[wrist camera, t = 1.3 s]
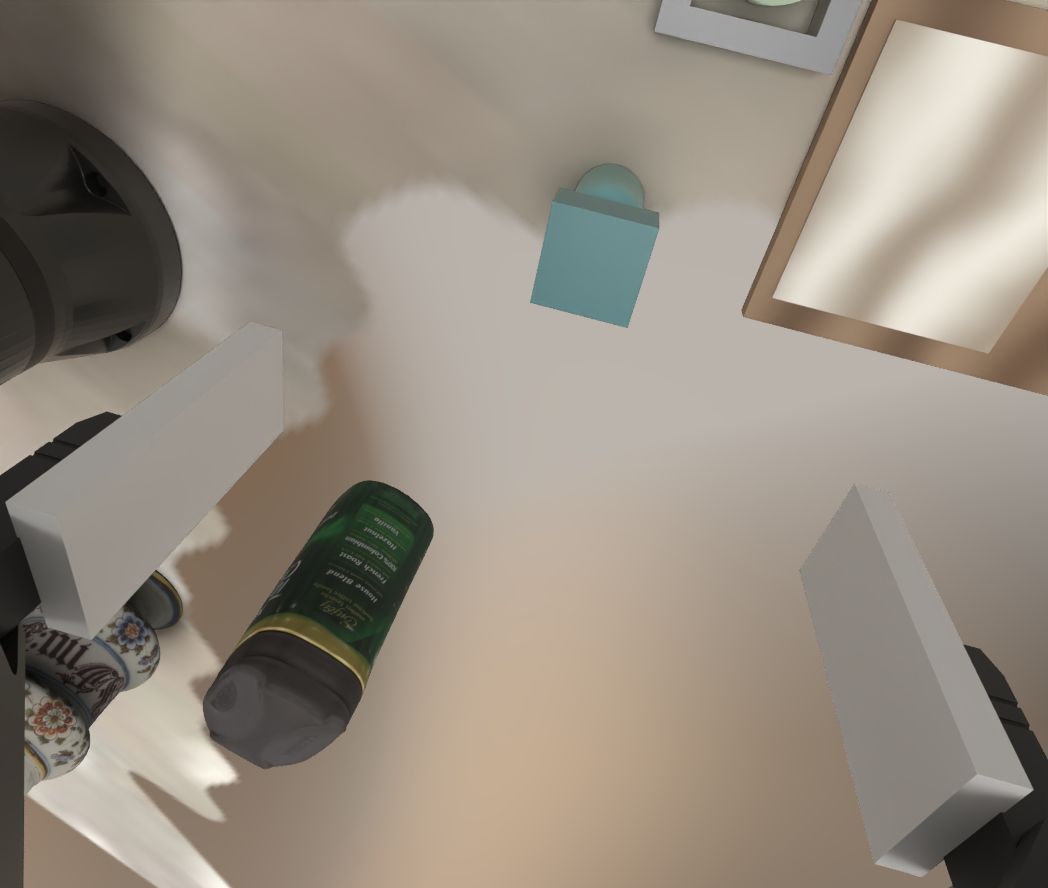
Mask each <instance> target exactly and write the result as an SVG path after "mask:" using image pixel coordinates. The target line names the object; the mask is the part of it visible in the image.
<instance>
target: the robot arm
mask: <svg viewBox="0 0 1048 888" xmlns="http://www.w3.org/2000/svg"><path fill="white" fill-rule="evenodd" d="M180 282H181V264H180V256H179V250H178V246H177V242H176V238H175V235H174V232H173V229H172V226H171V223H170V221H169V219H168V216H167V214H166V212H165V210H164V208H163V206H162V204H161V202H160V200H159V199H158V197H157V195H156V194H155V192H154V190H153V189H152V187H151V186H150V184H149V183H148V181H147V180H146V179H145V177H144V176H143V175H142V173H141V172H140V171H139V170H138V168H137V167H136V166H135V165H134V164H133V162H132V161H131V160H130V159H129V158H128V157H127V156H126V155H125V154H124V153H123V152H122V151H121V150H120V149H119V148H118V147H117V146H116V145H115V144H114V143H112V142H111V141H110V140H109V139H108V138H107V137H105V136H104V135H103V134H101V133H100V132H99V131H97V130H96V129H95V128H93V127H92V126H90V125H89V124H87V123H86V122H84V121H82V120H81V119H79V118H77V117H75V116H73V115H71V114H69V113H67V112H65V111H63V110H60V109H58V108H55V107H52V106H49V105H46V104H43V103H38V102H33V101H26V100H8V101H0V385H1V384H3V383H5V382H6V381H8V380H10V379H11V378H13V377H15V376H16V375H18V374H20V373H22V372H24V371H26V370H27V369H29V368H31V367H33V366H34V365H36V364H38V363H44V362H50V361H57V360H63V359H69V358H76V357H82V356H88V355H95V354H101V353H108V352H112V351H116V350H119V349H122V348H125V347H127V346H129V345H132V344H133V343H135V342H137V341H138V340H140V339H142V338H143V337H145V336H146V335H148V334H150V333H151V332H153V331H154V330H156V329H157V328H158V327H160V326H161V325H162V324H163V323H164V322H165V321H166V319H167V318H168V317H169V315H170V314H171V312H172V310H173V308H174V306H175V304H176V301H177V298H178V294H179V290H180ZM283 430H284V405H283V333H282V330H279V329H276V328H272V327H268V326H264V325H261V324H257V323H253V322H249V323H248V324H246V325H245V326H244V327H242V328H241V329H239V330H238V331H237V332H235V333H234V334H233V335H231V336H230V337H229V338H227V339H226V340H225V341H223V342H222V343H220V344H219V345H218V346H216V347H215V348H214V349H212V350H211V351H210V352H208V353H207V354H206V355H204V356H203V357H201V358H200V359H199V360H197V361H196V362H195V363H193V364H192V365H191V366H189V367H188V368H187V369H185V370H184V371H182V372H181V373H180V374H178V375H177V376H176V377H174V378H173V379H172V380H170V381H169V382H168V383H166V384H165V385H163V386H162V387H161V388H159V389H158V390H157V391H155V392H154V393H153V394H151V395H150V396H149V397H147V398H146V399H144V400H143V401H142V402H140V403H139V404H138V405H136V406H135V407H134V408H132V409H131V410H130V411H128V412H127V413H125V414H124V415H123V416H121V415H117V414H113V413H110V412H105V413H102V414H99V415H96V416H94V417H91V418H88V419H85V420H83V421H80V422H77V423H75V424H74V425H73V426H71V427H70V428H68V429H67V430H65V431H64V432H62V433H61V434H60V435H58V436H57V437H55V438H54V439H53V442H52V443H51V442H48V443H46V444H45V445H44V446H42V447H41V448H39V449H38V450H36V451H35V453H34V455H33V456H31V455H29V456H28V457H26V458H25V459H23V460H22V461H20V462H19V463H18V464H16V465H15V466H13V467H12V468H10V469H9V470H7V471H6V472H4V473H3V474H2V475H0V888H23V868H24V866H23V865H24V861H23V859H24V753H25V635H26V634H25V631H24V628H23V625H22V622H21V621H22V620H23V619H24V618H25V617H26V616H28V615H29V614H30V613H31V612H32V611H33V610H34V609H35V608H36V607H37V606H38V605H39V604H40V606H41V609H42V612H43V615H44V618H45V621H46V624H47V627H48V628H51V629H55V630H58V631H62V632H65V633H69V634H72V635H76V636H79V637H83V638H86V639H90V640H92V639H93V638H94V637H95V636H96V635H97V633H98V632H99V631H100V630H101V629H102V628H103V627H104V626H105V625H106V624H107V622H108V621H109V620H110V619H111V618H112V617H113V616H114V615H115V614H116V613H117V612H118V610H119V609H120V608H121V607H122V606H123V605H124V604H125V603H126V602H127V601H128V600H129V598H130V597H131V596H132V595H133V594H134V593H135V592H136V591H137V590H138V589H139V588H140V586H141V585H142V584H143V583H144V582H145V581H146V580H147V579H148V578H149V577H150V576H151V574H152V573H153V572H154V571H155V570H156V569H157V568H158V567H159V566H160V565H161V564H162V562H163V561H164V560H165V559H166V558H167V557H168V556H169V555H170V554H171V553H172V552H173V550H174V549H175V548H176V547H177V546H178V545H179V544H180V543H181V542H182V541H183V540H184V538H185V537H186V536H187V535H188V534H189V533H190V532H191V531H192V530H193V529H194V528H195V526H196V525H197V524H198V523H199V522H200V521H201V520H202V519H203V518H204V517H205V516H206V514H207V513H208V512H209V511H210V510H211V509H212V508H213V507H214V506H215V505H216V504H217V502H218V501H219V500H220V499H221V498H222V497H223V496H224V495H225V494H226V493H227V491H228V490H229V489H230V488H231V487H232V486H233V485H234V484H235V483H236V482H237V481H238V480H239V478H240V477H241V476H242V475H243V474H244V473H245V472H246V471H247V470H248V469H249V467H250V466H251V465H252V464H253V463H254V462H255V461H256V460H257V459H258V458H259V457H260V455H261V454H262V453H263V452H264V451H265V450H266V449H267V448H268V447H269V446H270V445H271V443H272V442H273V441H274V440H275V439H276V438H277V437H278V436H279V435H280V434H281V433H282V431H283ZM800 574H801V578H802V582H803V586H804V590H805V594H806V598H807V602H808V606H809V609H810V613H811V618H812V621H813V625H814V629H815V633H816V637H817V641H818V645H819V649H820V652H821V657H822V661H823V665H824V669H825V672H826V676H827V680H828V684H829V688H830V692H831V696H832V700H833V704H834V708H835V712H836V716H837V719H838V724H839V728H840V731H841V735H842V739H843V743H844V747H845V751H846V755H847V759H848V763H849V767H850V771H851V775H852V779H853V782H854V786H855V790H856V794H857V798H858V802H859V806H860V809H861V814H862V818H863V822H864V826H865V830H866V834H867V837H868V841H869V845H870V849H871V853H872V857H873V861H874V864H878V865H881V866H885V867H888V868H892V869H895V870H899V871H902V872H906V873H909V874H913V875H916V876H920V877H923V876H924V875H925V874H926V873H928V872H929V871H930V870H932V869H933V868H934V867H935V866H937V865H938V864H939V863H940V862H942V861H943V860H945V863H946V866H947V869H948V872H949V875H950V878H951V881H952V884H953V885H952V886H951V887H950V888H1048V759H1047V757H1046V755H1045V753H1044V752H1043V750H1042V748H1041V746H1040V744H1039V742H1038V740H1037V738H1036V736H1035V734H1034V733H1033V731H1031V730H1029V723H1028V721H1027V719H1026V717H1025V715H1024V713H1023V712H1022V710H1021V708H1018V707H1017V704H1018V702H1017V700H1016V698H1015V696H1014V694H1013V693H1012V691H1011V689H1010V687H1009V685H1008V683H1007V681H1006V679H1005V677H1004V676H1003V675H1002V673H1001V672H1000V671H999V670H998V669H997V668H996V667H995V665H994V664H993V663H992V662H991V661H990V660H989V659H988V657H987V656H986V655H985V654H984V653H983V652H982V651H981V650H980V649H978V648H975V647H971V646H967V645H963V644H962V642H961V639H960V638H959V635H958V633H957V631H956V629H955V627H954V625H953V623H952V621H951V619H950V617H949V615H948V613H947V611H946V609H945V607H944V604H943V602H942V600H941V598H940V596H939V594H938V592H937V590H936V588H935V586H934V584H933V582H932V580H931V578H930V576H929V574H928V571H927V569H926V567H925V565H924V563H923V561H922V559H921V557H920V555H919V553H918V551H917V549H916V547H915V545H914V543H913V541H912V539H911V537H910V535H909V532H908V530H907V528H906V526H905V524H904V522H903V520H902V518H901V516H900V514H899V512H898V510H897V508H896V506H895V504H894V502H893V500H892V498H891V495H890V494H889V492H886V491H882V490H878V489H874V488H870V487H867V486H863V485H859V484H856V483H855V484H854V485H853V487H852V488H851V490H850V491H849V493H848V495H847V496H846V498H845V499H844V501H843V502H842V504H841V506H840V507H839V509H838V510H837V512H836V513H835V515H834V517H833V518H832V520H831V522H830V523H829V525H828V526H827V528H826V529H825V531H824V532H823V534H822V536H821V537H820V539H819V540H818V542H817V543H816V545H815V547H814V548H813V550H812V551H811V553H810V555H809V556H808V558H807V560H806V561H805V563H804V564H803V566H802V568H801V569H800Z"/></svg>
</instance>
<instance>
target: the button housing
mask: <svg viewBox="0 0 1048 888" xmlns="http://www.w3.org/2000/svg"><path fill="white" fill-rule="evenodd" d="M691 1H692V0H662V4H661V8H660V12H659V15H658V19H657V23H656V27H655V30H654V32H659V33H663V34H667V35H671V36H675V37H679V38H683V39H687V40H691V41H695V42H699V43H703V44H707V45H711V46H715V47H719V48H723V49H727V50H731V51H735V52H739V53H743V54H747V55H751V56H755V57H760V58H764V59H768V60H772V61H776V62H780V63H784V64H788V65H792V66H796V67H800V68H804V69H808V70H812V71H816V72H820V73H824V74H828V75H831V74H832V72H833V69H834V67H835V65H836V62H837V60H838V57H839V55H840V52H841V50H842V48H843V45H844V43H845V40H846V38H847V36H848V33H849V31H850V28H851V26H852V24H853V21H854V19H855V16H856V14H857V11H858V9H859V7H860V4H861V2H862V0H819V2H818V5H817V8H816V10H815V13H814V15H813V18H812V21H811V23H810V26H809V28H808V31H807V34H802V33H798V32H794V31H790V30H786V29H782V28H778V27H774V26H770V25H766V24H761V23H757V22H753V21H749V20H745V19H741V18H737V17H733V16H729V15H725V14H721V13H717V12H713V11H709V10H705V9H700V8H696V7H692V6H690V4H691Z"/></svg>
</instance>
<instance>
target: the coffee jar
mask: <svg viewBox="0 0 1048 888" xmlns="http://www.w3.org/2000/svg"><path fill="white" fill-rule="evenodd" d="M432 538H433V524H432V521H431V519H430V517H429V516H428V514H427V513H426V512H425V511H424V510H423V509H422V508H421V507H420V506H419V504H417V503H416V502H415V501H414V500H413V499H411V498H410V497H409V496H408V495H406V494H404V493H403V492H401V491H400V490H398V489H396V488H394V487H391V486H389V485H387V484H385V483H381V482H376V481H363V482H360V483H357V484H355V485H354V486H352V487H351V488H350V489H348V490H347V491H346V492H345V493H344V494H343V495H342V496H341V497H340V498H338V500H337V501H336V502H335V503H334V504H333V506H332V507H331V508H330V509H329V511H328V512H327V514H326V515H325V517H324V518H323V519H322V521H321V522H320V524H319V525H318V527H317V528H316V530H315V531H314V533H313V534H312V536H311V537H310V539H309V540H308V542H307V543H306V544H305V546H304V547H303V549H302V550H301V551H300V553H299V555H298V556H297V557H296V559H295V560H294V561H293V563H292V564H291V566H290V567H289V568H288V570H287V571H286V573H285V574H284V576H283V577H282V578H281V580H280V581H279V583H278V584H277V586H276V587H275V589H274V590H273V592H272V593H271V594H270V596H269V597H268V599H267V600H266V602H265V603H264V605H263V606H262V608H261V610H260V611H259V612H258V614H257V615H256V617H255V618H254V620H253V621H252V623H251V625H250V626H249V628H248V629H247V630H246V632H245V633H244V635H243V637H242V638H241V640H240V641H239V643H238V644H237V646H236V647H235V649H234V650H233V652H232V653H231V655H230V656H229V658H228V660H227V661H226V663H225V665H224V666H223V668H222V669H221V671H220V672H219V674H218V676H217V678H216V679H215V681H214V683H213V684H212V686H211V687H210V688H209V690H208V691H207V694H206V695H205V697H204V701H203V712H204V717H205V721H206V723H207V726H208V728H209V731H210V737H211V739H212V740H214V741H215V742H217V743H218V744H220V745H222V746H223V747H225V748H227V749H228V750H230V751H232V752H233V753H235V754H237V755H239V756H240V757H242V758H244V759H246V760H247V761H249V762H251V763H253V764H255V765H257V766H259V767H261V768H263V769H268V768H271V767H274V766H275V767H276V766H284V765H285V766H286V765H292V764H296V763H299V762H303V761H305V760H307V759H309V758H311V757H312V756H314V755H315V754H317V753H318V752H320V751H321V750H323V749H324V748H326V747H327V746H328V745H329V744H331V743H332V742H333V741H334V740H335V739H336V738H337V737H339V735H340V734H342V733H343V732H345V730H346V727H347V724H348V723H349V721H350V719H351V717H352V715H353V713H354V711H355V709H356V707H357V705H358V703H359V701H360V699H361V697H362V695H363V692H364V690H365V687H366V684H367V681H368V678H369V676H370V673H371V670H372V668H373V665H374V663H375V660H376V658H377V656H378V654H379V651H380V649H381V647H382V645H383V643H384V640H385V638H386V636H387V634H388V631H389V629H390V627H391V624H392V623H393V621H394V619H395V617H396V614H397V612H398V610H399V608H400V606H401V604H402V601H403V599H404V597H405V595H406V593H407V591H408V589H409V586H410V584H411V582H412V580H413V578H414V576H415V574H416V572H417V570H418V568H419V566H420V564H421V562H422V560H423V558H424V556H425V553H426V551H427V549H428V547H429V545H430V542H431V540H432Z"/></svg>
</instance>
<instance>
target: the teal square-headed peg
mask: <svg viewBox="0 0 1048 888" xmlns="http://www.w3.org/2000/svg"><path fill="white" fill-rule="evenodd" d="M658 231H659V213H658V212H654V211H650V210H646V209H644V192H643V188H642V185H641V183H640V181H639V179H638V178H637V177H636V175H635V174H634V173H633V172H632V171H630V170H629V169H627V168H626V167H624V166H621V165H617V164H603V165H599V166H597V167H595V168H593V169H591V170H590V171H588V172H587V173H586V174H585V175H584V176H583V177H582V179H581V180H580V182H579V183H578V185H577V187H576V189H575V191H572V190H568V189H564V188H560V189H559V191H558V192H557V194H556V196H555V198H554V199H553V201H552V206H551V210H550V215H549V219H548V224H547V229H546V233H545V238H544V242H543V247H542V251H541V256H540V261H539V265H538V269H537V274H536V279H535V284H534V288H533V292H532V297H531V301H530V303H534V304H538V305H542V306H546V307H549V308H553V309H557V310H561V311H564V312H568V313H572V314H576V315H580V316H584V317H588V318H591V319H595V320H599V321H603V322H607V323H611V324H614V325H618V326H622V327H626V328H628V325H629V322H630V318H631V315H632V312H633V309H634V306H635V303H636V300H637V297H638V293H639V290H640V287H641V284H642V281H643V278H644V275H645V271H646V268H647V265H648V262H649V259H650V256H651V252H652V249H653V246H654V243H655V240H656V237H657V234H658Z"/></svg>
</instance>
